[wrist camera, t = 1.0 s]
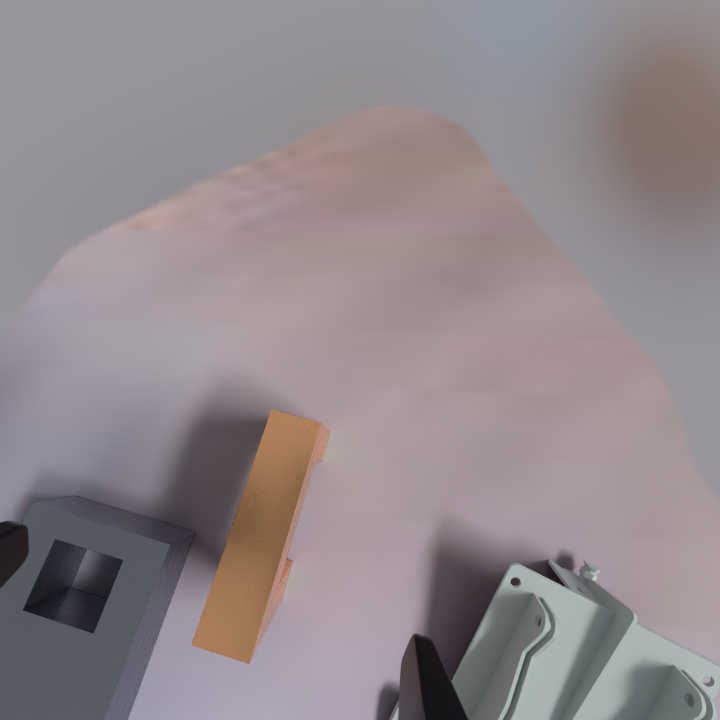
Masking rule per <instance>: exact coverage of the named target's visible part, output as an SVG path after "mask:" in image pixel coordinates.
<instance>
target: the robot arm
mask: <svg viewBox="0 0 720 720" xmlns="http://www.w3.org/2000/svg"><path fill="white" fill-rule="evenodd" d="M28 554H29V537H28V527H27V526H26V525H24V524H21V523H17V522H13V521H4V522H1V523H0V589H1V588H2V587H3V586H4V584H5V583H6V582H7V581H8V580H9V579H10V578H11V577H12V576H13V574H14V573H15V572H16V571H17V570H18V569H19V568H20V567H21V566H22V564H23V563H24V562H25V560H26V558H27V557H28ZM398 720H469V719H468V717H467V715H466V712H465V710H464V708H463V706H462V704H461V701H460V699H459V697H458V695H457V693H456V690H455V688H454V686H453V684H452V682H451V679H450V677H449V675H448V673H447V671H446V668H445V666H444V664H443V662H442V660H441V657H440V655H439V653H438V651H437V649H436V646H435V644H434V642H433V641H432V639H431V638H429V637H427V636H423V635H420V634H416V633H415V634H413V635H412V637H411V639H410V641H409V644H408V646H407V648H406V651H405V653H404V656H403V658H402V663H401V673H400V692H399V711H398Z"/></svg>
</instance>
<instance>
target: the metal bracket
mask: <svg viewBox="0 0 720 720" xmlns="http://www.w3.org/2000/svg"><path fill="white" fill-rule="evenodd" d="M584 563H585V565H584V567H583V566H582V567H581V569H580V571H579V572H580V575H578V574H576V573H574V572H572V571H570V570H568V569H566V568H564V567H563V568H561V567H560V566H559V565H558V564H556V563H554V562H552V561H550V560H549V561H548V564H549V565H550V566H551V568H552V569H553V570H554V572H555V573H556V574H557V576H558V577H559V578H560V580H561V581H562V582H563V584H564V585H565V586H566V587H564V586H562V585H560V584H558V583H556V582H554V581H552V580H550V579H548V578H547V577H545V576H543V575H541V574H539V573H537V572H535V571H533V570H531V569H529V568H527V567H525V566H523V565H521V564H519V563H515V562H514V563H511V564H510V565H509V567H508V569H507V571H506V573H505V575H504V577H503V579H502V581H501V583H500V585H499V587H498V589H497V591H496V593H495V595H494V597H493V599H492V601H491V603H490V605H489V607H488V609H487V611H486V613H485V615H484V617H483V619H482V621H481V623H480V625H479V627H478V629H477V631H476V633H475V635H474V637H473V639H472V641H471V643H470V645H469V647H468V649H467V651H466V653H465V655H464V657H463V659H462V661H461V663H460V665H459V667H458V669H457V671H456V673H455V675H454V677H453V679H452V681H451V682H452V684H453V686H454V688H455V690H456V693H457V695H458V697H459V699H460V701H461V704H462V706H463V708H464V710H465V712H466V715H467V717H468V719H469V720H716V719H717V709H716V705H715V703H714V701H713V700H714V698H715V696H716V694H717V693H718V691H719V689H720V666H719V665H718V664H716V663H714V662H712V661H710V660H708V659H706V658H704V657H702V656H700V655H699V654H697V653H695V652H693V651H691V650H689V649H687V648H685V647H683V646H681V645H679V644H677V643H675V642H673V641H671V640H669V639H667V638H665V637H663V636H661V635H659V634H657V633H655V632H653V631H651V630H649V629H647V628H645V627H643V626H641V625H639V624H638V623H637V621H638V617H637V614H636V613H635V612H634V611H633V610H631V609H630V608H629V607H628V606H626V605H625V604H624V603H622V602H621V601H620V600H619V599H617V598H616V597H615V596H613V595H612V594H611V593H610V592H609V591H608V590H607V589H606V588H604V587H602V586H600V585H599V584H598V583H597V582H595V581H596V579H597V577H598V576H597V575H596V574H597V572H598V573H600V570H599V569H598V568H597V567H596V566H595V565H593V564H591V563H590V562H588V561H584ZM515 577H516V578H519V579H520V583H519V584H518V585H512V584H511V583H510V582H511V579H512V578H515ZM705 676H710V677H711V681H710V682H709V683H706V684H705V683H703V682H702V681H703V678H704V677H705ZM398 711H399V700H398V702H397V704H396V706H395V708H394V710H393V712H392V714H391V717H390V719H389V720H398Z"/></svg>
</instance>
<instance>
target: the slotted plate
mask: <svg viewBox="0 0 720 720" xmlns="http://www.w3.org/2000/svg"><path fill="white" fill-rule="evenodd" d="M22 524H24V525H26V526H27V527H28V537H29V554H28V557H27V558H26V560H25V562H24V563H23V564H22V566H21V567H20V568H19V569H18V570H17V571H16V572H15V573H14V574H13V576H12V577H11V578H10V579H9V580H8V581H7V582H6V583H5V584H4V586H3V587H2V588H1V589H0V720H128V717H129V714H130V712H131V709H132V706H133V703H134V701H135V698H136V695H137V692H138V690H139V687H140V684H141V681H142V678H143V676H144V673H145V670H146V667H147V665H148V662H149V659H150V656H151V654H152V651H153V648H154V645H155V643H156V640H157V637H158V634H159V632H160V629H161V626H162V623H163V621H164V618H165V615H166V612H167V609H168V607H169V604H170V601H171V598H172V596H173V593H174V590H175V587H176V585H177V582H178V579H179V576H180V574H181V571H182V568H183V565H184V563H185V560H186V557H187V554H188V551H189V549H190V546H191V543H192V540H193V538H194V535H195V532H194V531H191V530H187V529H184V528H181V527H178V526H174V525H171V524H168V523H164V522H161V521H158V520H154V519H151V518H148V517H145V516H141V515H138V514H135V513H131V512H128V511H125V510H121V509H118V508H115V507H112V506H108V505H105V504H102V503H98V502H95V501H92V500H88V499H85V498H82V497H79V496H70V497H64V498H58V499H51V500H45V501H38V502H32V504H31V506H30V508H29V510H28V512H27V514H26V516H25V518H24V520H23V522H22ZM87 549H90V550H93V551H96V552H99V553H102V554H106V555H109V556H112V557H115V558H118V559H122V560H123V562H122V565H121V567H120V570H119V572H118V575H117V577H116V580H115V582H114V585H113V587H112V590H111V592H110V595H109V597H108V600H107V599H104V598H101V597H98V596H95V595H91V594H88V593H85V592H82V591H79V590H76V589H73V588H70V587H71V585H72V582H73V580H74V578H75V575H76V573H77V571H78V568H79V566H80V564H81V561H82V559H83V557H84V554H85V552H86V550H87Z"/></svg>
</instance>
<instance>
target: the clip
mask: <svg viewBox="0 0 720 720" xmlns="http://www.w3.org/2000/svg"><path fill="white" fill-rule="evenodd" d="M329 434H330V430H329V429H327V428H326V427H325V426H324V425H323V424H321V423H319V422H315V421H311V420H308V419H304V418H301V417H297V416H294V415H290V414H286V413H283V412H279V411H276V410H272V409H271V412H270V415H269V418H268V421H267V424H266V427H265V430H264V433H263V436H262V439H261V441H260V444H259V447H258V450H257V453H256V456H255V459H254V462H253V465H252V468H251V471H250V474H249V477H248V480H247V483H246V486H245V489H244V492H243V495H242V498H241V501H240V504H239V507H238V509H237V512H236V515H235V518H234V521H233V524H232V527H231V530H230V533H229V536H228V539H227V542H226V545H225V548H224V551H223V554H222V557H221V560H220V563H219V566H218V569H217V572H216V574H215V577H214V580H213V583H212V586H211V589H210V592H209V595H208V598H207V601H206V604H205V607H204V610H203V613H202V616H201V619H200V622H199V625H198V628H197V631H196V634H195V637H194V640H193V642H192V646H195V647H199V648H202V649H205V650H208V651H211V652H214V653H217V654H220V655H223V656H226V657H230V658H233V659H236V660H239V661H242V662H245V663H248V664H249V663H250V661H251V659H252V657H253V655H254V653H255V651H256V649H257V647H258V645H259V643H260V641H261V639H262V637H263V635H264V633H265V631H266V629H267V627H268V625H269V623H270V621H271V619H272V617H273V615H274V613H275V611H276V609H277V607H278V605H279V603H280V601H281V599H282V597H283V594H284V590H285V587H286V583H287V580H288V576H289V573H290V569H291V566H292V562H293V561H290V560H287V556H288V552H289V549H290V545H291V542H292V539H293V535H294V532H295V528H296V525H297V522H298V518H299V515H300V511H301V508H302V505H303V501H304V498H305V494H306V491H307V488H308V484H309V481H310V477H311V474H312V470H313V467H314V464H315V463H318V462H321V461H322V458H323V455H324V452H325V448H326V445H327V441H328V438H329Z"/></svg>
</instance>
